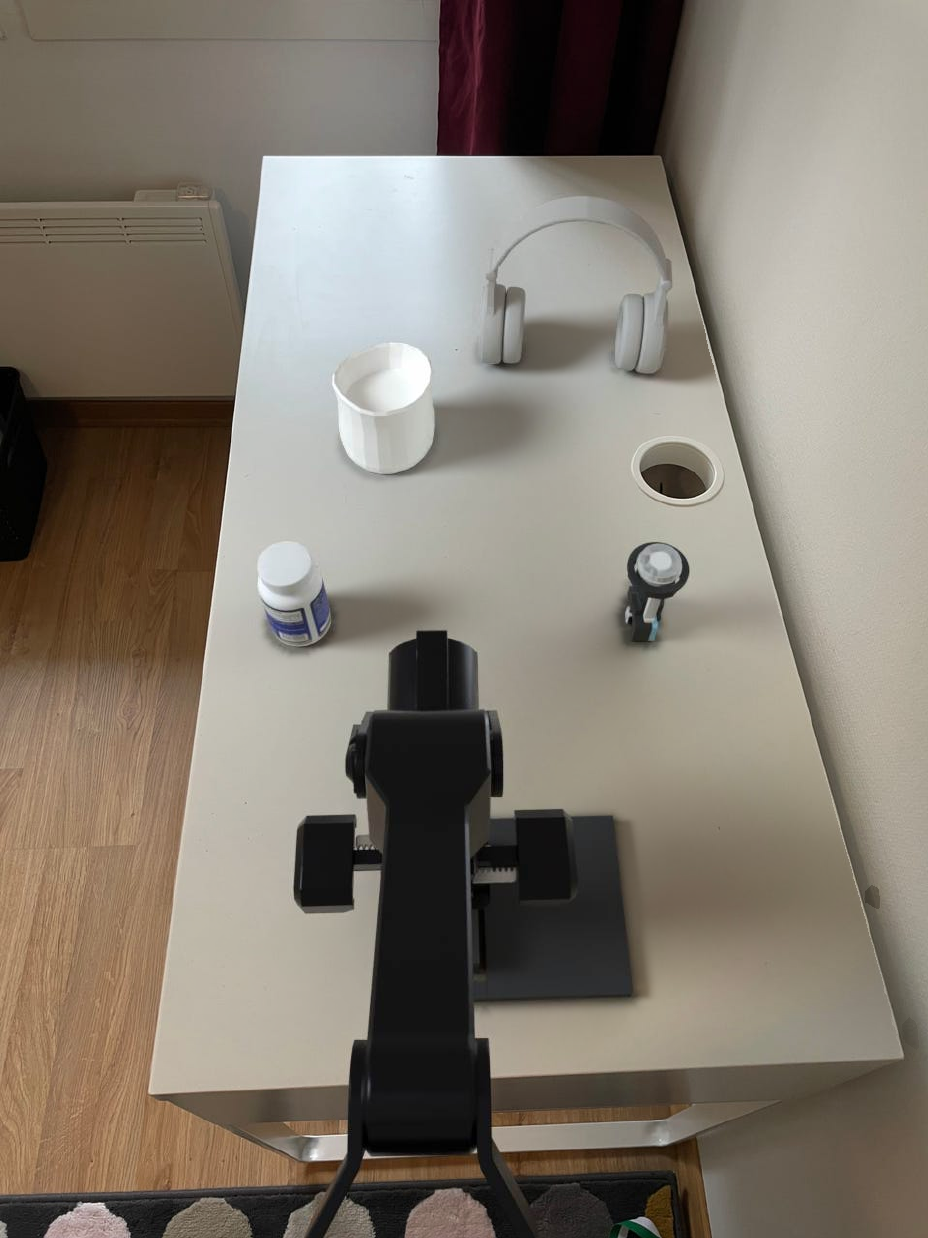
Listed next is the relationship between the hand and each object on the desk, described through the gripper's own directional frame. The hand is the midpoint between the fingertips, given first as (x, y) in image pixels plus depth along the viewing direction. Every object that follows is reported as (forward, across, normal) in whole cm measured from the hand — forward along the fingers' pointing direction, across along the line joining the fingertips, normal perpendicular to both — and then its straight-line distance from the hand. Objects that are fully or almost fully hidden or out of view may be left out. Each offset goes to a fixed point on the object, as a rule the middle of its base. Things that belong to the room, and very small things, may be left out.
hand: (437, 893), depth 72 cm
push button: (+5, -20, -27) cm, 34 cm away
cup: (+5, +4, -49) cm, 49 cm away
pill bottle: (+5, +12, -27) cm, 30 cm away
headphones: (+5, -16, -61) cm, 63 cm away
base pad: (+5, -4, 0) cm, 7 cm away
